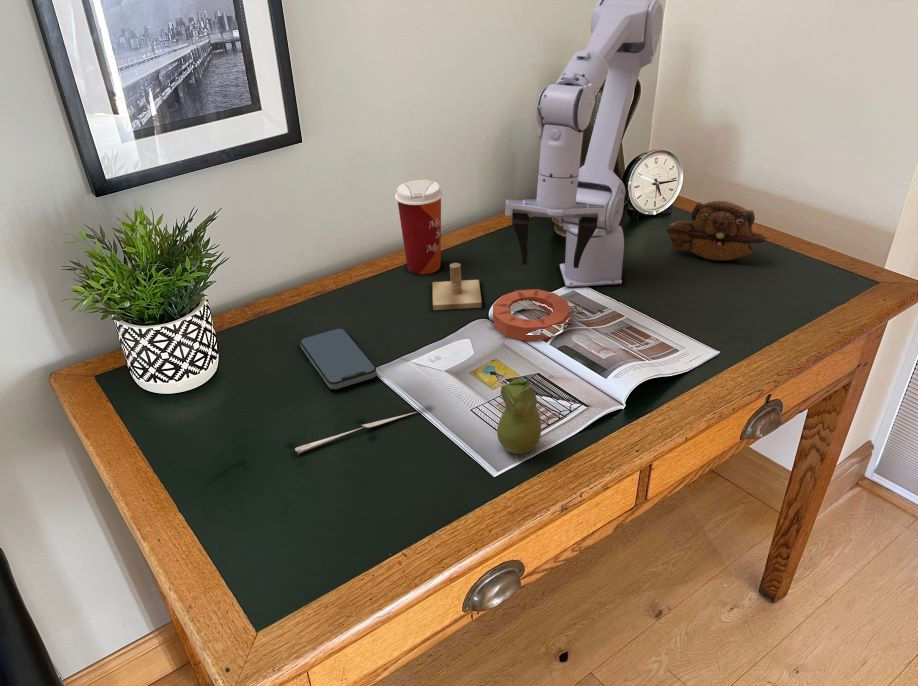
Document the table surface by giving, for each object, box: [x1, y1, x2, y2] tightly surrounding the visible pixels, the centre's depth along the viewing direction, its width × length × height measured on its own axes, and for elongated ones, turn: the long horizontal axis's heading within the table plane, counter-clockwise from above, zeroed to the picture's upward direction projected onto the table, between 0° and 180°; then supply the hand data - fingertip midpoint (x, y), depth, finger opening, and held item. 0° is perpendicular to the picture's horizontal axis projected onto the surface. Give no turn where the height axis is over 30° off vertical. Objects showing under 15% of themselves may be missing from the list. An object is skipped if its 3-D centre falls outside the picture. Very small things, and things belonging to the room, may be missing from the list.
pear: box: [496, 378, 542, 455], centre depth 97 cm, size 6×5×10 cm
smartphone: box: [299, 328, 378, 390], centre depth 118 cm, size 8×2×15 cm
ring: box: [492, 288, 571, 342], centre depth 124 cm, size 12×12×2 cm
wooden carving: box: [666, 200, 768, 262], centre depth 136 cm, size 16×5×10 cm, turn 68°
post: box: [431, 262, 483, 311], centre depth 131 cm, size 8×8×6 cm
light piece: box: [294, 410, 420, 455], centre depth 104 cm, size 4×1×19 cm
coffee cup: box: [394, 179, 444, 275], centre depth 138 cm, size 8×8×15 cm
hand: (550, 264), depth 119 cm, fingers open, 7 cm apart
